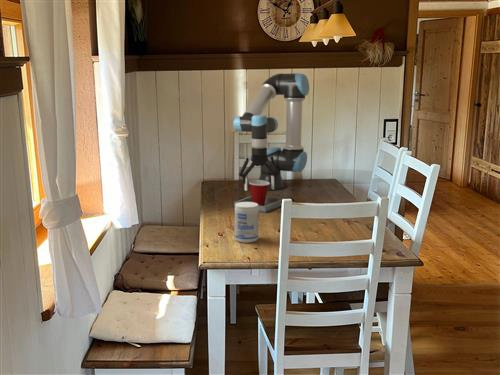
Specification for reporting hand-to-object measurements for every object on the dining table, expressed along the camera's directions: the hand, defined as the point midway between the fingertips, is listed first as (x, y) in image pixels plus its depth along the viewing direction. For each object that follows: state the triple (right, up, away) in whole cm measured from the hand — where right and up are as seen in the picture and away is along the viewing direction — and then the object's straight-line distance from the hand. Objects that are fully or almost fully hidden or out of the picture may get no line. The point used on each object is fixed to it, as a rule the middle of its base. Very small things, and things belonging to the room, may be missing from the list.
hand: (259, 189), depth 267 cm
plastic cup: (0, -8, +2) cm, 8 cm away
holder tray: (0, -8, +2) cm, 9 cm away
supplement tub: (-6, -20, -50) cm, 54 cm away
